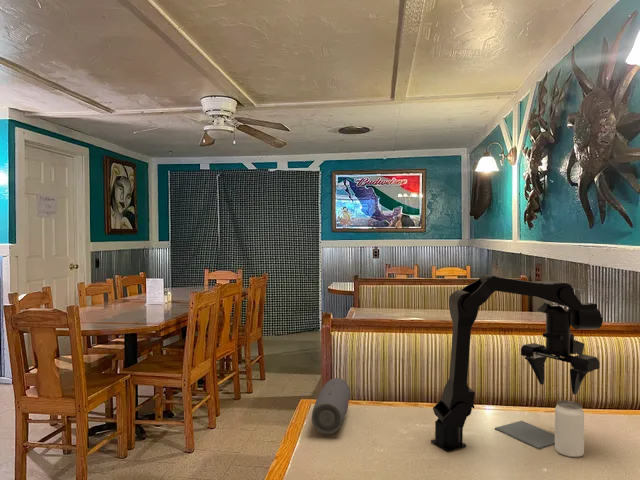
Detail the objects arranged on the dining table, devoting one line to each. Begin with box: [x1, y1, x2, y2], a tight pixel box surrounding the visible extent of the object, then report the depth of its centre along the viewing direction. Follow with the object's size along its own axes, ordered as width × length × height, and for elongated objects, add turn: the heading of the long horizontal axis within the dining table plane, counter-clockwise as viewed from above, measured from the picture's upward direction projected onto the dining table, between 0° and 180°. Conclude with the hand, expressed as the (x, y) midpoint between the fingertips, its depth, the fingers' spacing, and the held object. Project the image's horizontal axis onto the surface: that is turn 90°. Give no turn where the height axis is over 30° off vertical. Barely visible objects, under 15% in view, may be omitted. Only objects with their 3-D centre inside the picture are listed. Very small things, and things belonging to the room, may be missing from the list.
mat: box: [494, 420, 555, 450], centre depth 129 cm, size 11×14×1 cm
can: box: [554, 400, 585, 458], centre depth 118 cm, size 6×6×12 cm
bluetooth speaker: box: [311, 377, 351, 435], centre depth 137 cm, size 23×9×10 cm, turn 171°
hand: (557, 389), depth 124 cm, fingers open, 9 cm apart
